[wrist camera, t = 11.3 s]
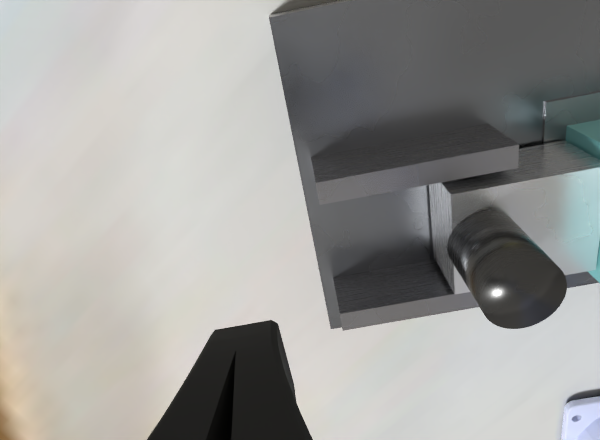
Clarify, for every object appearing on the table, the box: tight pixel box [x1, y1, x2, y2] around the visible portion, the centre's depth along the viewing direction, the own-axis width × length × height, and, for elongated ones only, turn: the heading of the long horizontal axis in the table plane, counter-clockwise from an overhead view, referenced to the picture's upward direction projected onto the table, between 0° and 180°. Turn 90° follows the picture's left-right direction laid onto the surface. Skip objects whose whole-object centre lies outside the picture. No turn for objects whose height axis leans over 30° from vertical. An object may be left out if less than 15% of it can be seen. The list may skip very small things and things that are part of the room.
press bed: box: [269, 0, 600, 330], centre depth 17 cm, size 13×17×4 cm
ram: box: [429, 140, 600, 329], centre depth 16 cm, size 4×5×6 cm
